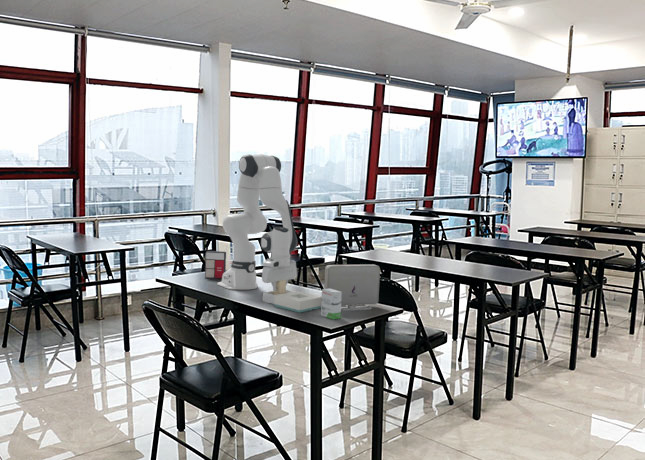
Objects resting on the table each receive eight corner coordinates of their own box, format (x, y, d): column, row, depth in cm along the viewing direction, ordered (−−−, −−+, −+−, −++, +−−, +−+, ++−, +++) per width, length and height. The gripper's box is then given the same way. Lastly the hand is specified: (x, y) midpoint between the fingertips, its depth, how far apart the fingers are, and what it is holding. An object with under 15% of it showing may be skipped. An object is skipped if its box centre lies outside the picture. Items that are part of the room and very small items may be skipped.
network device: (327, 311, 267) (329, 267, 265) (321, 306, 275) (323, 264, 273) (380, 309, 275) (382, 266, 273) (372, 304, 283) (374, 263, 281)
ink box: (341, 318, 254) (342, 291, 253) (332, 319, 252) (333, 292, 250) (329, 314, 261) (330, 287, 260) (320, 315, 258) (321, 288, 257)
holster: (262, 301, 282) (262, 292, 282) (283, 297, 292) (283, 289, 292) (274, 304, 277) (274, 295, 276) (295, 299, 287) (295, 291, 287)
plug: (273, 300, 284) (273, 279, 283) (279, 299, 287) (279, 278, 286) (279, 301, 282) (279, 281, 281) (285, 300, 285) (285, 280, 284)
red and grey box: (204, 278, 334) (205, 251, 332) (206, 276, 338) (206, 250, 336) (224, 279, 333) (224, 252, 332) (225, 277, 338) (226, 251, 336)
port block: (274, 306, 272) (274, 295, 272) (298, 301, 284) (298, 291, 284) (299, 312, 262) (299, 301, 261) (323, 307, 274) (323, 296, 273)
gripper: (291, 258, 292) (290, 286, 294) (260, 262, 277) (259, 291, 279) (300, 260, 288) (299, 288, 290) (269, 264, 273) (268, 293, 274)
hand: (279, 289), depth 284 cm, fingers closed on plug, 4 cm apart
